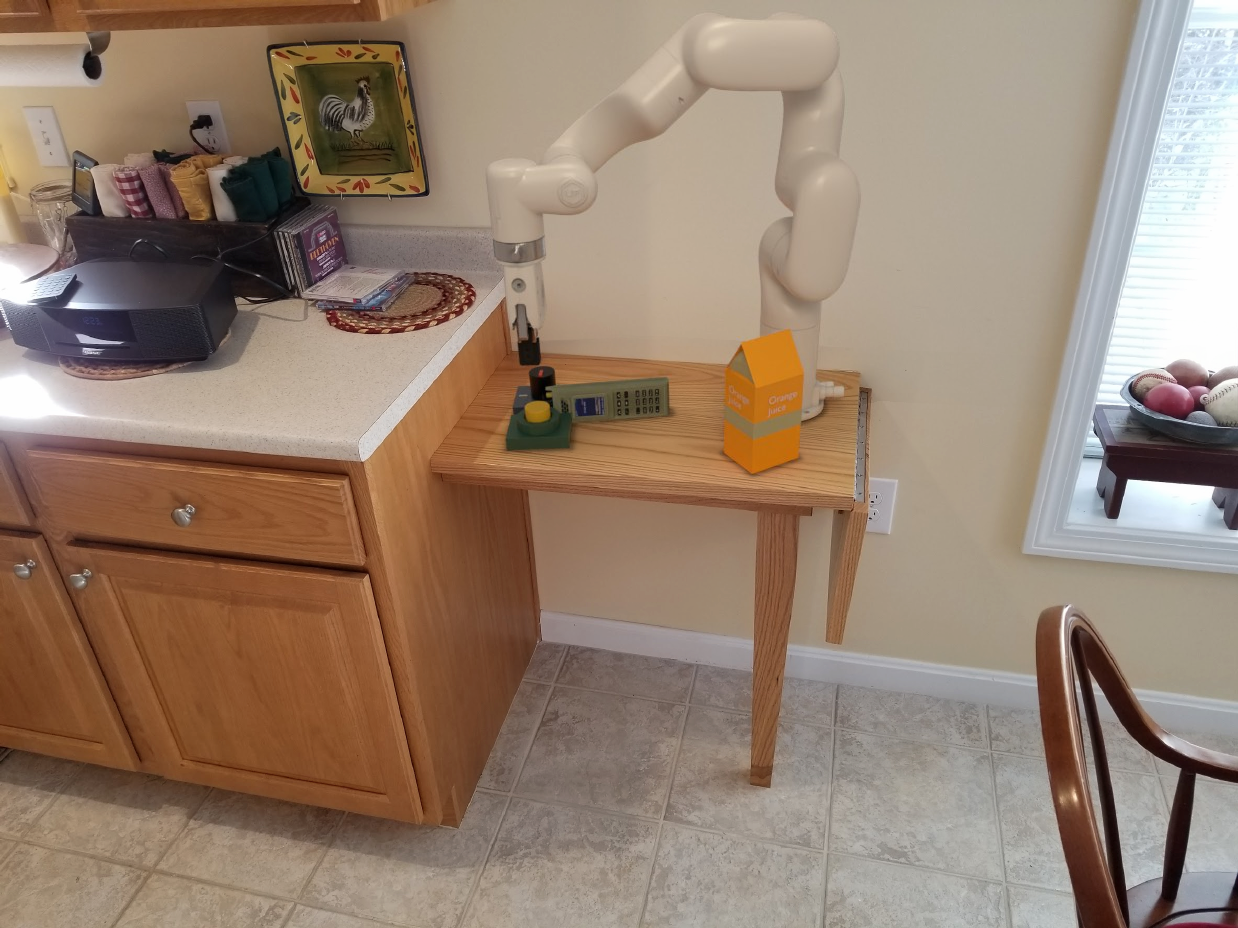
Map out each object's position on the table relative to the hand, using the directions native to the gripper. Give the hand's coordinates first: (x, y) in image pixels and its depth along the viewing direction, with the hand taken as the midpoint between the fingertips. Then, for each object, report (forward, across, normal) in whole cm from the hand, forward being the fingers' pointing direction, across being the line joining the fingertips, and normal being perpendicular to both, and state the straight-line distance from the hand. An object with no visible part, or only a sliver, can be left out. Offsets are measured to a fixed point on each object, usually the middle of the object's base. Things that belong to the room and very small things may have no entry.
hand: (530, 363), depth 141 cm
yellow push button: (+10, 0, 0) cm, 10 cm away
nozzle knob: (+11, +10, 0) cm, 15 cm away
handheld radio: (+14, +6, -9) cm, 18 cm away
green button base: (+13, 0, 0) cm, 13 cm away
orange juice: (+13, -8, -36) cm, 39 cm away
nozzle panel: (+13, +10, 0) cm, 17 cm away
